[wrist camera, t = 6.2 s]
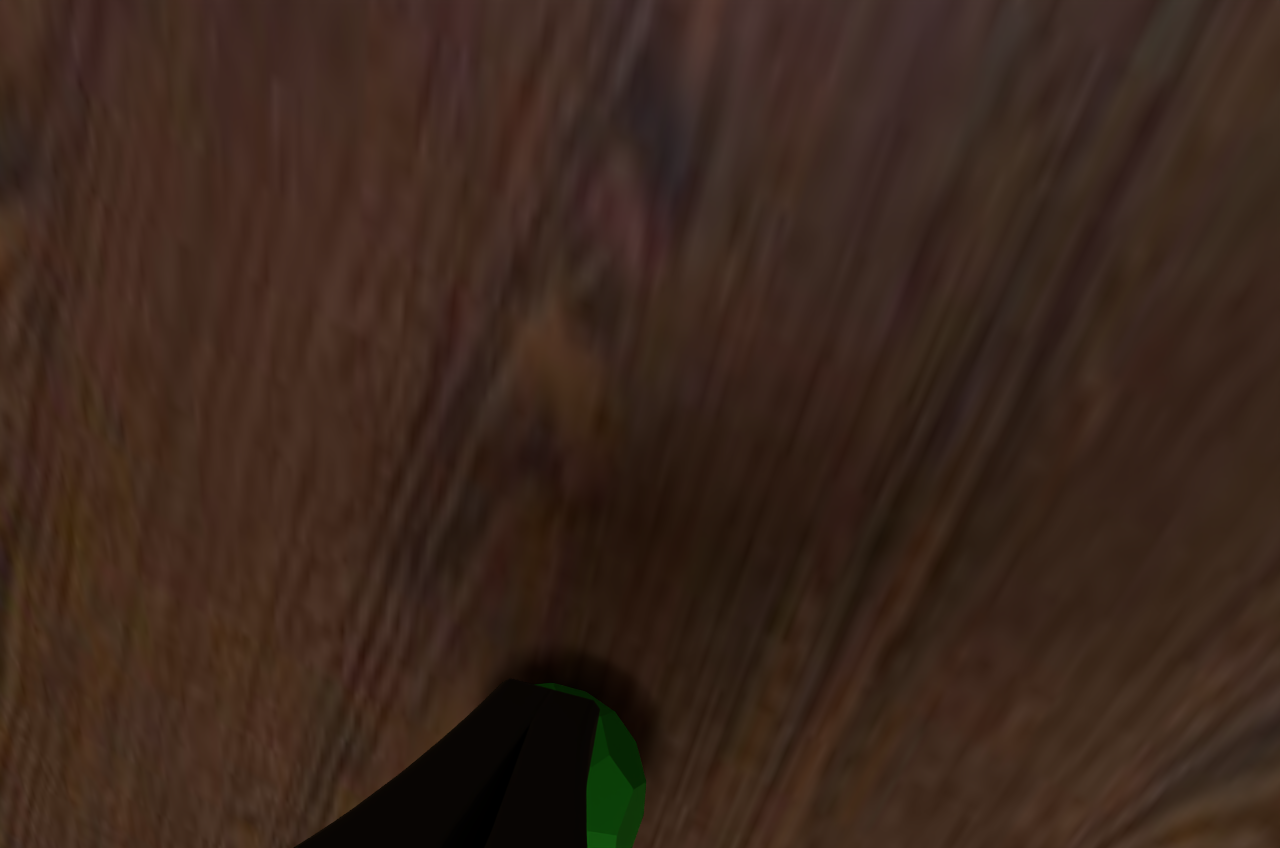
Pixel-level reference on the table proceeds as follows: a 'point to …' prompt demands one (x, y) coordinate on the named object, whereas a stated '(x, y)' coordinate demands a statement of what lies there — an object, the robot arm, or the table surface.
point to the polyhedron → (612, 780)
